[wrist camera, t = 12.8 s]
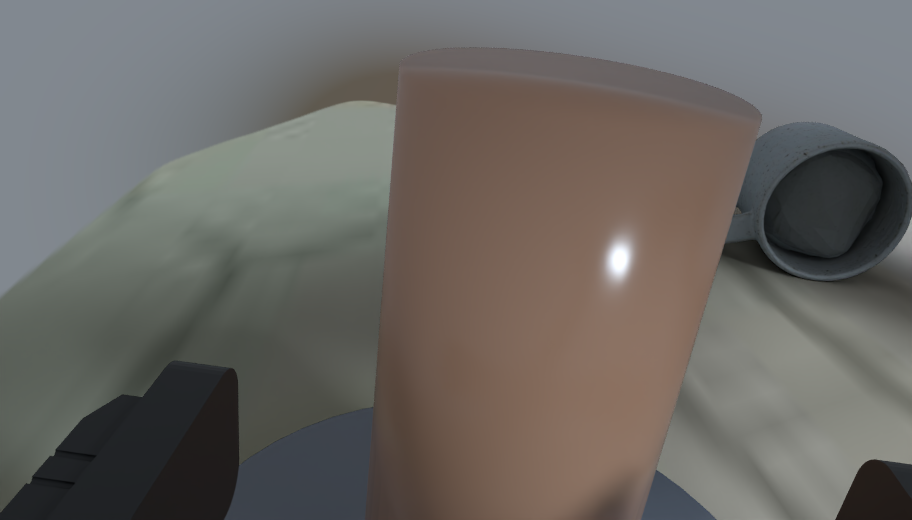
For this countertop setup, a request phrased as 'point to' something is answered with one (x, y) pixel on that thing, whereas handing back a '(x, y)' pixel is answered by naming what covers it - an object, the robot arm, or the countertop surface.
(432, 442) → the canister
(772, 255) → the ceramic mug
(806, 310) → the countertop surface
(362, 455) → the slate dish
